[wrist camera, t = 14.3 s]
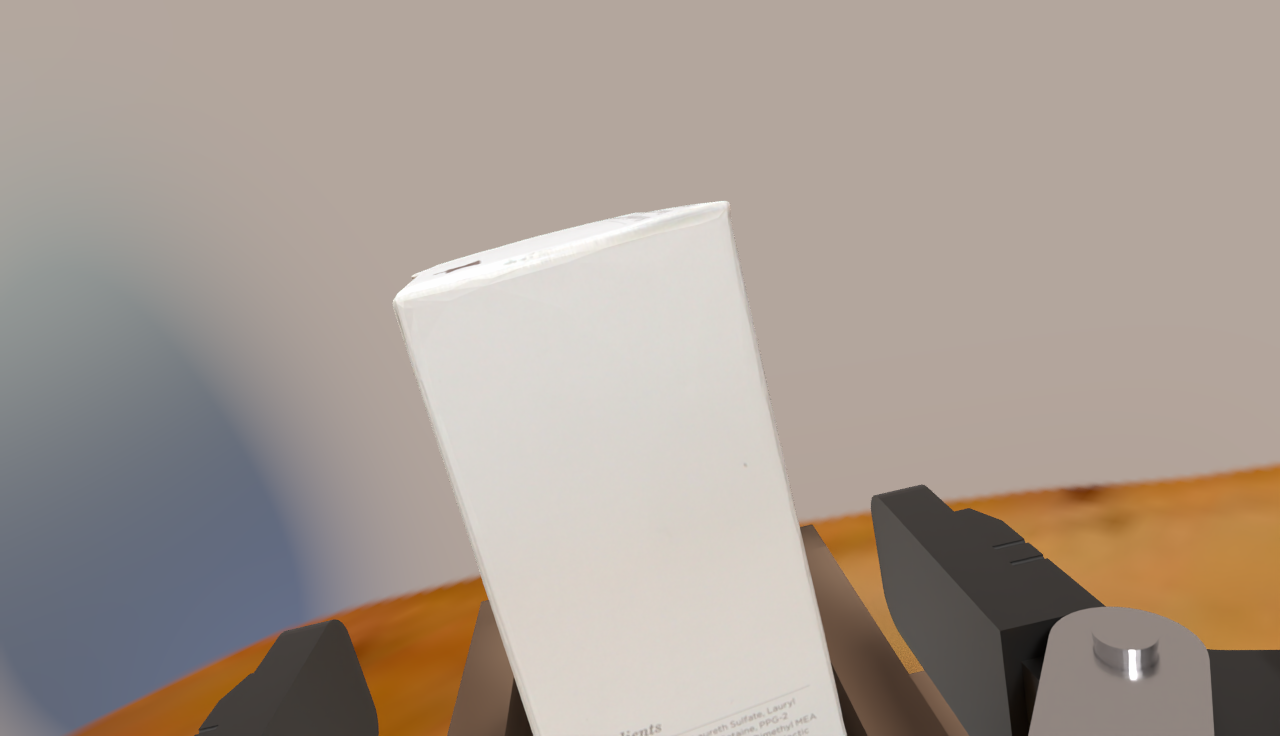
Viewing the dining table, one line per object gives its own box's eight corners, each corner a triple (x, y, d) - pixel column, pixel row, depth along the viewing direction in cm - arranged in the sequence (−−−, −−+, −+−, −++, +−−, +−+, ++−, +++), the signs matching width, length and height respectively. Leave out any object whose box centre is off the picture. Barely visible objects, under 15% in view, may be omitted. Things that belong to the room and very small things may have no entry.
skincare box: (893, 921, 16) (765, 191, 12) (609, 1033, 15) (376, 284, 11) (753, 676, 24) (651, 196, 20) (564, 739, 23) (421, 250, 19)
